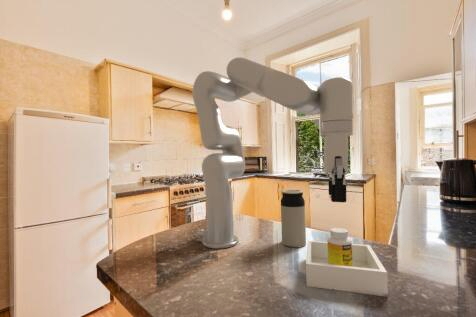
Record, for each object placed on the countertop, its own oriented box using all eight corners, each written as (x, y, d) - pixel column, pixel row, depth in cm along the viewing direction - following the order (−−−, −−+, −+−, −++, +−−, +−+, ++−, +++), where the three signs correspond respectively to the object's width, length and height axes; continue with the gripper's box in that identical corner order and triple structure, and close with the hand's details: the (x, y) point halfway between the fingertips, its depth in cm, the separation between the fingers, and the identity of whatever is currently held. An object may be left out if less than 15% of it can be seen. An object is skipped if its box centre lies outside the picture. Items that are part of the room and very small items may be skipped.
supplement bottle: (344, 279, 54) (342, 235, 54) (323, 270, 59) (322, 229, 59) (357, 272, 57) (355, 230, 58) (336, 264, 62) (335, 225, 62)
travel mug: (311, 244, 78) (309, 191, 79) (292, 249, 75) (290, 193, 75) (295, 238, 86) (293, 188, 86) (277, 242, 82) (275, 190, 82)
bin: (306, 286, 53) (305, 263, 53) (308, 257, 68) (307, 240, 68) (387, 296, 48) (387, 272, 48) (370, 263, 63) (369, 245, 63)
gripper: (319, 133, 68) (320, 192, 68) (321, 126, 52) (321, 204, 52) (347, 132, 66) (348, 193, 66) (359, 124, 49) (359, 206, 49)
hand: (336, 198), depth 59 cm, fingers open, 9 cm apart
